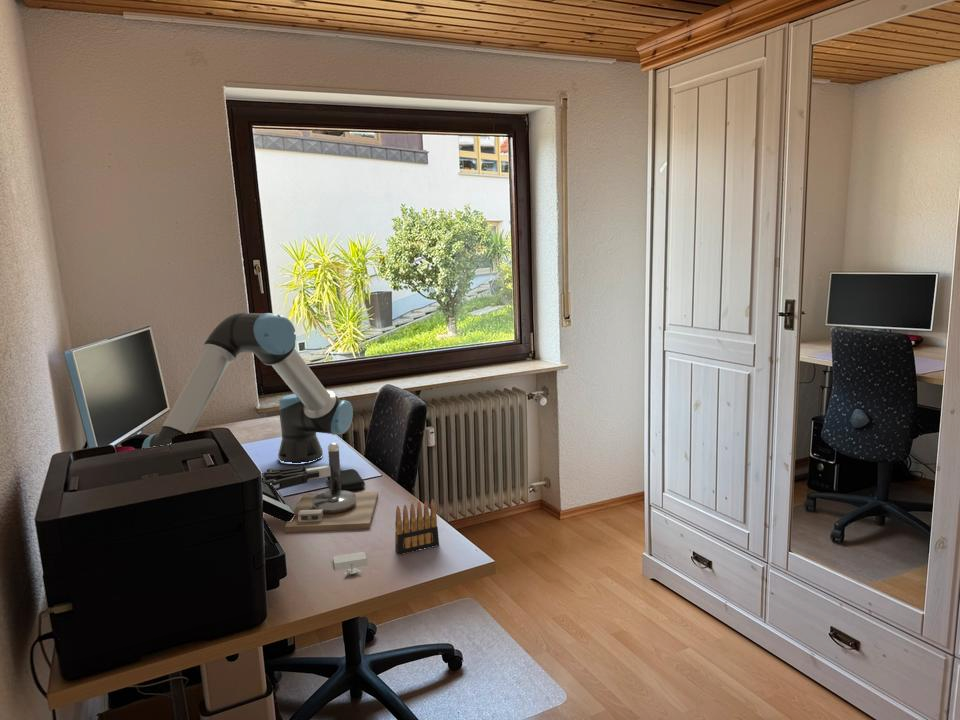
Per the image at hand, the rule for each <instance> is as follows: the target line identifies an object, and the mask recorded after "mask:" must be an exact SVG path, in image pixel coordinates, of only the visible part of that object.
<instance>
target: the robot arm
mask: <svg viewBox="0 0 960 720" xmlns="http://www.w3.org/2000/svg"><path fill="white" fill-rule="evenodd" d="M295 332H296V329H295V327H294V324H293V323H292V321H291V320H290V319H289V318H288V317H286V316H284V315H283V314H278V313H274V312H272V313H271V312H265V313H257V312H256V313H255V312H252V313H251V312H237V313H234V314H232V315H229V316H228V317H226V318H224V319H223V320H222V321H220V322H219V324H218V325H216V326H215V328H214V329H213V330H212V331H211V333H210V334H209V335H208V337H207V338H206V340H205V341H204V343H203V345H202V350H203V353H202V354H201V356H200V358H199V359H198V362H197V363H196V366H195V367H194V369H193V371H192V372H191V374H190V376H189V378H188V380H187V381H186V383H185V385H184V387H183V389H182V390H181V392H180V394H179V396H178V397H177V399H176V401H175V403H174V404H173V406H172V408H171V410H170V412H169V413H168V415H167V417H166V419H165V421H164V422H163V424H162V427H161V428H160V430H159V431H158V433H153V434H151V435H149V436H148V437H146V438H145V439H144V440H143V443H142V446H141V450H142V449H143V448H148V447H153V446H160V445H167V444H170V443H171V442H172V439H173V438H174V437H175V436H178V435H181V434H187V433H193V432H194V431H193V430H194V429H195V427H196V425H197V423H198V421H199V419H200V418H201V416H202V414H203V412H204V410H205V409H206V407H207V405H208V403H209V401H210V399H211V397H212V395H213V394H214V391H215V390H216V389H217V386H218V384H219V382H221V381H220V380H221V378H222V377H223V375H224V373H225V372H226V370H227V368H228V366H229V364H232V363H234V362H235V360H236V358H237V357H238V355H240V354H241V353H250V354H251V353H252V354H254V355H255V356H256V357H257V358H258V359H259V361H260V362H261V363H262V364H264V365H266V366H272V368H273V369H274V371H275V372H276V373H277V374H278V375H279V376H280V378H281V379H282V380H283V382H284V383H285V385H286V386H288V388H289V389H290V390H291V391H292V394H289V395H288V394H287V395H285V396H282V397H281V398H280V399H279V403H278V405H279V409H278V411H279V419H280V420H279V421H280V431H281V442H280V446H279V449H278V454H277V455H278V456H277V457H278V458H279V459H280V460H281V461H284V462H292V463H301V462H309V461H313V460H316V459H318V458H320V457H321V456H322V455H323V454H324V453H323V448H322V446H321V444H320V441H319V438H318V436H317V433H318V434H319V433H321V434H328V435H333V436H334V435H339V436H341V435H343V434H345V433H346V432H347V431H348V430H349V428H350V427H351V425H352V423H353V415H354V409H353V406H352V403H351V402H350V401H349V400H346V399H342V400H341V399H340V398H338V396H337V394H336V393H335V392H334V391H333V390H331V389H326V388H325V387H324V385H323V384H322V383H321V381H320V380H319V379H318V377H317V376H316V375H315V373H314V372H313V370H312V369H311V368H310V367H309V365H308V364H307V363H306V361H304V359H303V358H302V356H301V354H300V353H299V352H298V351H297V349H296V341H297V334H295ZM198 431H199V430H198ZM198 431H195V432H198ZM323 456H324V455H323ZM261 474H262V477H263V483H267V484H269V483H270V485H272V486H273V487H274V488H275V489H276V490H277V491H276V492H278V491H280V490H283V489H287V488H291V487H295V486H299V485H305V484H308V483H309V481H308V480H315V479H320V478H327V477H328V476H331V472H330V466H329V464H328V465H323V466H317V467H315V466H314V467H310V468H306V465H302V466H298V467H286V468H268V469H266V471H264V472H263V473H261Z"/></svg>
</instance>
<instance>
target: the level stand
mask: <svg viewBox="0 0 960 720" xmlns="http://www.w3.org/2000/svg"><path fill="white" fill-rule="evenodd" d="M353 493H354V494H355V495H356V505H355V507H353V508H352V509H350V510H348V511H345V512H341V513H335V514H323V509H319V510H313V508H312V499H313V498H314V497H315V496H317V495H319V493H317V494H315V493H314V494H302V496H301V497H300V499H299V501H298V502H297V504H296V506H295V508H294V510H293V511H294V513H295V516H294V518H293V520H292V521H291V522H288V521H287V522H286V524H285V525H284V533H300V532H301V533H302V532H320V531H321V532H323V531H340V530H347V531H348V530H362V529H366V530H367V529H368V530H369V529H371V526H372V522H373V519H374V514H375V510H376V507H377V504H378V503H377V502H378V498H379V491H365V492H364V491H361V492H353Z"/></svg>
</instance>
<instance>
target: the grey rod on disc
mask: <svg viewBox="0 0 960 720" xmlns="http://www.w3.org/2000/svg"><path fill="white" fill-rule="evenodd" d="M327 451H328V452H327V453H328V465H329V466H330V472H331V476H330V483H331V485H330V486H331V489H330V490H329V491H324V492H322V493H320V494H319V493H318V494H319V495H317V496H315V497H314V498H313V499H312V508H313V510H319V509H323V514H335V513H341V512H345V511H348V510H350V509H352V508H353V507H355V505H356V495H355V494H354V493H355V492H354V491H344V490H341V473H340V471H341V464H340V463H341V460H340V447H339V444H338V443H336V442H331V443H329V444H328V446H327ZM330 483H329V484H330Z"/></svg>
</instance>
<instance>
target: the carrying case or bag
mask: <svg viewBox="0 0 960 720" xmlns="http://www.w3.org/2000/svg"><path fill="white" fill-rule="evenodd" d="M340 473H341V490H344V491H350V492H355V491H361V490H363V489H364V488H365V486H366V483H365V480H364V479H363V478H362V476H361V475H360V474H359V473H358V471H357V470H356V469H354V468H349V469H342V470H340ZM326 479H327V481H328V483H329V485H328V488H329V489H330V490H331V483H330V476H328V477H326Z"/></svg>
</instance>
